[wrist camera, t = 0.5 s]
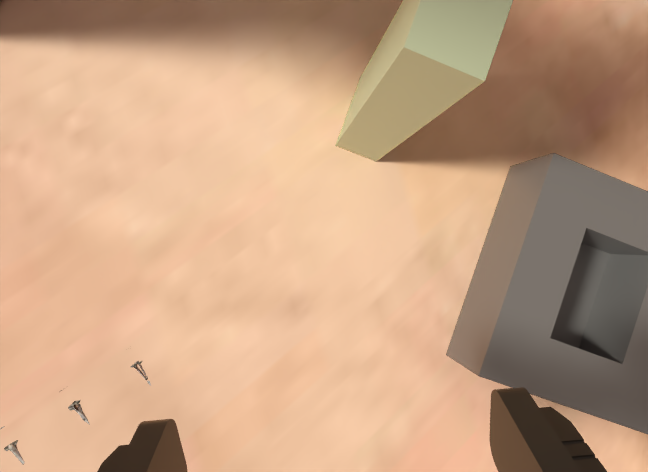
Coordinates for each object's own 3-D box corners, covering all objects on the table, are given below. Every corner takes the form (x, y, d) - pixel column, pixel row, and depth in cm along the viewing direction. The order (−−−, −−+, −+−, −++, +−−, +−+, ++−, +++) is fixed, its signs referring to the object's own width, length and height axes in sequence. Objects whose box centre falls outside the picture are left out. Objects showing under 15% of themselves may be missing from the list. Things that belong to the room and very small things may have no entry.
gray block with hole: (446, 354, 32) (478, 375, 27) (510, 166, 33) (553, 153, 28) (596, 407, 33) (654, 436, 28) (655, 224, 34) (722, 221, 29)
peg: (335, 145, 31) (403, 47, 15) (360, 77, 31) (452, -90, 16) (376, 161, 32) (485, 81, 16) (400, 93, 32) (531, -53, 16)
